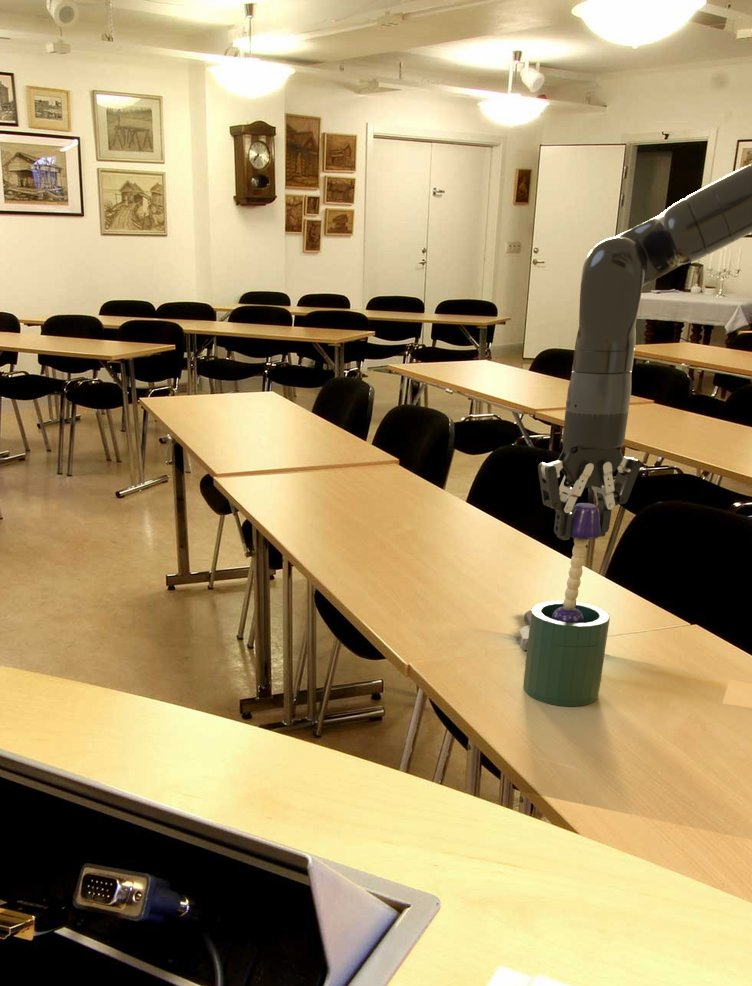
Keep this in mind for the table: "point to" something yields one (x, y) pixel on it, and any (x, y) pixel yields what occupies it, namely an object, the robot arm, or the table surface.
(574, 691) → the green cylindrical cup
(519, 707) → the table surface
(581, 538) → the toy lamp
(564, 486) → the robot arm
